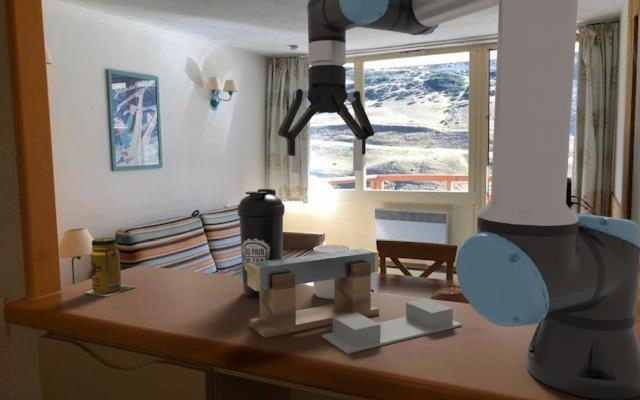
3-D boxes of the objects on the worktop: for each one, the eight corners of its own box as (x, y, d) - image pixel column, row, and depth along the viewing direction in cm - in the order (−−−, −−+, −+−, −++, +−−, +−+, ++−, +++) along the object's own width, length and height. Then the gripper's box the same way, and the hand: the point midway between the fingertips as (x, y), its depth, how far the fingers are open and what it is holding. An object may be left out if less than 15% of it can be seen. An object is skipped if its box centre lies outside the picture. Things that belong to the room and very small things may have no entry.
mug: (372, 294, 112) (373, 248, 111) (357, 304, 105) (357, 255, 104) (324, 287, 118) (324, 243, 116) (306, 296, 110) (306, 250, 109)
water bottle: (231, 298, 110) (228, 191, 107) (251, 285, 119) (249, 187, 117) (275, 302, 107) (273, 192, 104) (292, 288, 116) (290, 188, 114)
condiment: (83, 293, 114) (80, 240, 113) (114, 283, 122) (112, 234, 120) (106, 297, 111) (103, 243, 110) (136, 287, 118) (134, 236, 117)
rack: (379, 314, 99) (379, 261, 97) (264, 338, 87) (263, 278, 86) (359, 304, 105) (359, 254, 103) (249, 325, 93) (248, 269, 92)
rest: (461, 325, 92) (462, 307, 92) (347, 353, 80) (347, 332, 80) (431, 313, 99) (432, 296, 99) (322, 337, 87) (322, 317, 87)
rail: (366, 267, 103) (366, 248, 102) (378, 271, 99) (378, 251, 99) (247, 285, 90) (247, 263, 90) (256, 291, 87) (255, 268, 86)
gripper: (374, 71, 110) (373, 169, 113) (261, 65, 102) (263, 172, 104) (391, 66, 103) (389, 171, 106) (271, 60, 95) (273, 174, 97)
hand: (327, 171), depth 105 cm, fingers open, 13 cm apart
